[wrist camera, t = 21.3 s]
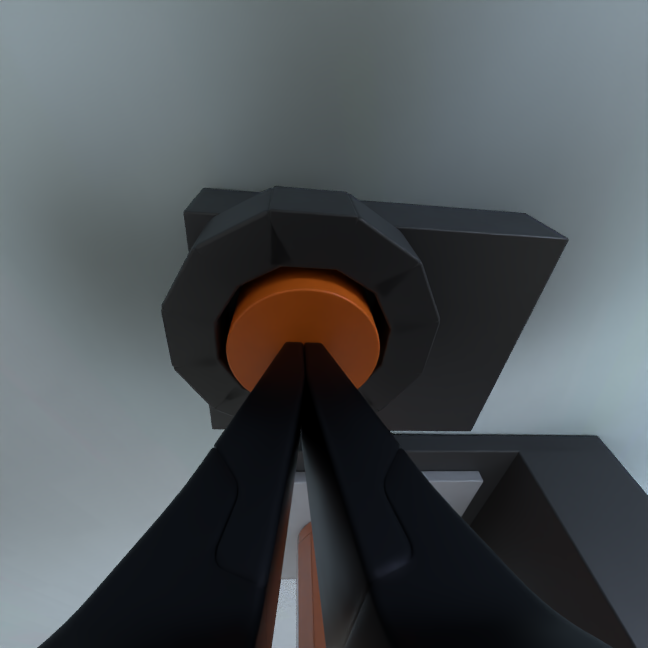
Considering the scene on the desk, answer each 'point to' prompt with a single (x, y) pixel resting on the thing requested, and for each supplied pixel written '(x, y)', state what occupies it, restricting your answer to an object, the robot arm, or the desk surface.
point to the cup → (308, 594)
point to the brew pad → (367, 292)
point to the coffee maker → (540, 521)
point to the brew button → (302, 322)
